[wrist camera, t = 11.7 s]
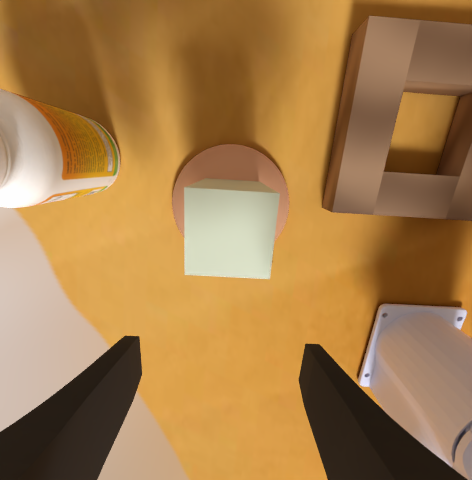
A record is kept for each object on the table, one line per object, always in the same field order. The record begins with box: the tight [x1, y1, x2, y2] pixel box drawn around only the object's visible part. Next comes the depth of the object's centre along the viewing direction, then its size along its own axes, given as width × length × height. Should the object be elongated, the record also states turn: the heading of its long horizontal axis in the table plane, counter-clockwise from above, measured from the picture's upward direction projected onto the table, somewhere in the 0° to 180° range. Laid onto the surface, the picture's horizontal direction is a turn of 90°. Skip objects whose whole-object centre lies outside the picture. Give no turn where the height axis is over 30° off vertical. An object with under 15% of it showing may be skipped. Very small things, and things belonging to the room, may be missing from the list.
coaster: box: [172, 144, 289, 241], centre depth 18 cm, size 9×9×1 cm
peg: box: [184, 178, 280, 279], centre depth 14 cm, size 4×4×8 cm
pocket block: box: [322, 16, 472, 221], centre depth 16 cm, size 11×11×2 cm
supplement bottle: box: [0, 89, 120, 208], centre depth 13 cm, size 5×5×10 cm
